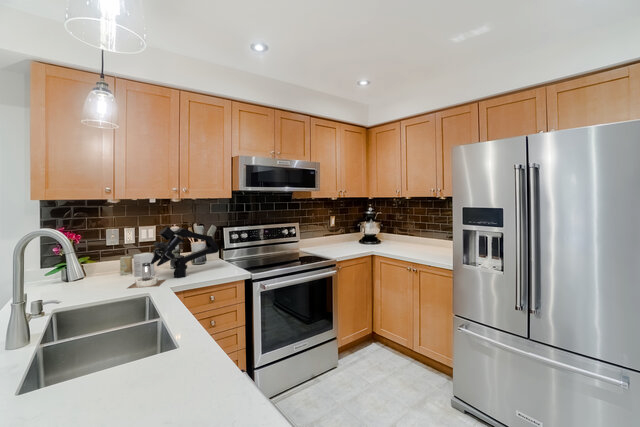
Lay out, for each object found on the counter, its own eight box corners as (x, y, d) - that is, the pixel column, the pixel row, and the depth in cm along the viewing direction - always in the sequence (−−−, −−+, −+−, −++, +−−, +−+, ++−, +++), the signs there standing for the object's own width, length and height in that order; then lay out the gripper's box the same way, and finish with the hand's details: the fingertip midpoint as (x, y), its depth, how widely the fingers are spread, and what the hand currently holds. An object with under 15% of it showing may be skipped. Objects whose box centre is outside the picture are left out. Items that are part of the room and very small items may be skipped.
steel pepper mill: (152, 282, 177) (151, 262, 176) (149, 284, 172) (149, 263, 172) (144, 283, 176) (143, 262, 175) (141, 285, 171) (140, 264, 171)
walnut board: (166, 280, 184) (166, 279, 184) (158, 287, 169) (158, 286, 169) (136, 282, 180) (136, 281, 180) (126, 289, 165) (126, 288, 165)
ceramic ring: (159, 280, 181) (159, 276, 180) (153, 285, 170) (153, 280, 170) (140, 282, 178) (140, 277, 178) (132, 287, 168) (132, 282, 167)
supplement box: (147, 273, 204) (146, 252, 203) (154, 275, 199) (154, 253, 199) (133, 276, 196) (132, 254, 195) (141, 278, 191) (140, 255, 191)
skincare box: (120, 275, 199) (119, 257, 199) (122, 274, 204) (121, 256, 203) (130, 274, 201) (130, 257, 201) (132, 273, 205) (132, 256, 205)
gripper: (155, 235, 186) (137, 255, 178) (168, 237, 175) (149, 258, 167) (169, 246, 193) (151, 265, 185) (182, 248, 181) (164, 269, 173)
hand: (154, 264), depth 177 cm, fingers open, 9 cm apart
